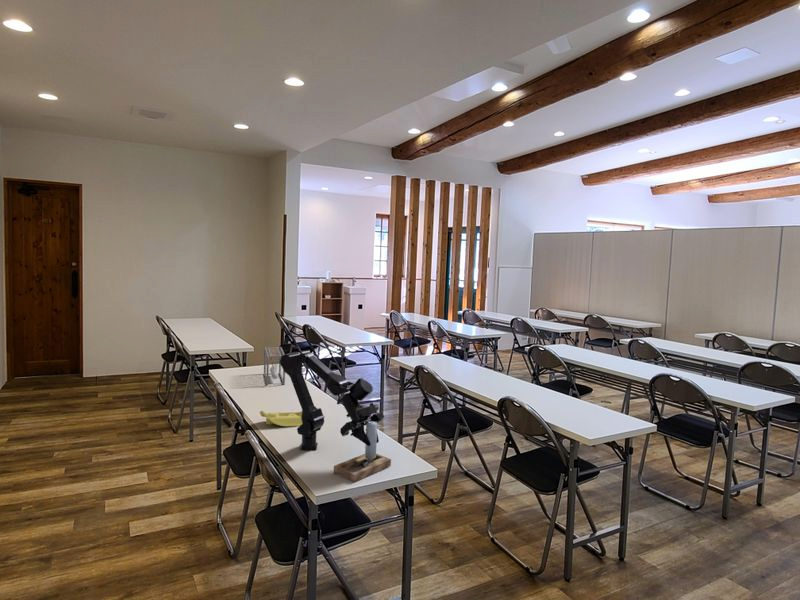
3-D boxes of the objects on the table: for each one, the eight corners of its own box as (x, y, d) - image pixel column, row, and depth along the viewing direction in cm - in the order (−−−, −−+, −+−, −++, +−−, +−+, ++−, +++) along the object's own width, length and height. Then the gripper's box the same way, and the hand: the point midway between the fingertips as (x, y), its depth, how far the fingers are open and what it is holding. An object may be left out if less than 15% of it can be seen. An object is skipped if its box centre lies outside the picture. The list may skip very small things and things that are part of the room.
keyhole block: (354, 482, 174) (354, 474, 174) (333, 472, 181) (333, 465, 180) (390, 465, 189) (391, 459, 188) (370, 458, 195) (370, 451, 195)
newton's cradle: (284, 385, 297) (285, 355, 295) (266, 386, 294) (266, 355, 292) (280, 373, 325) (281, 346, 324) (263, 374, 322) (264, 346, 321)
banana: (300, 412, 240) (306, 409, 232) (300, 428, 238) (306, 425, 229) (257, 413, 232) (262, 409, 223) (257, 430, 229) (262, 427, 221)
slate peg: (360, 464, 188) (362, 422, 187) (372, 461, 191) (374, 420, 190) (367, 469, 184) (369, 426, 183) (379, 466, 187) (381, 424, 186)
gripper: (346, 401, 181) (368, 439, 175) (381, 391, 195) (402, 426, 189) (331, 417, 187) (351, 454, 181) (366, 407, 201) (385, 441, 195)
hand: (373, 443), depth 186 cm, fingers closed on slate peg, 4 cm apart
